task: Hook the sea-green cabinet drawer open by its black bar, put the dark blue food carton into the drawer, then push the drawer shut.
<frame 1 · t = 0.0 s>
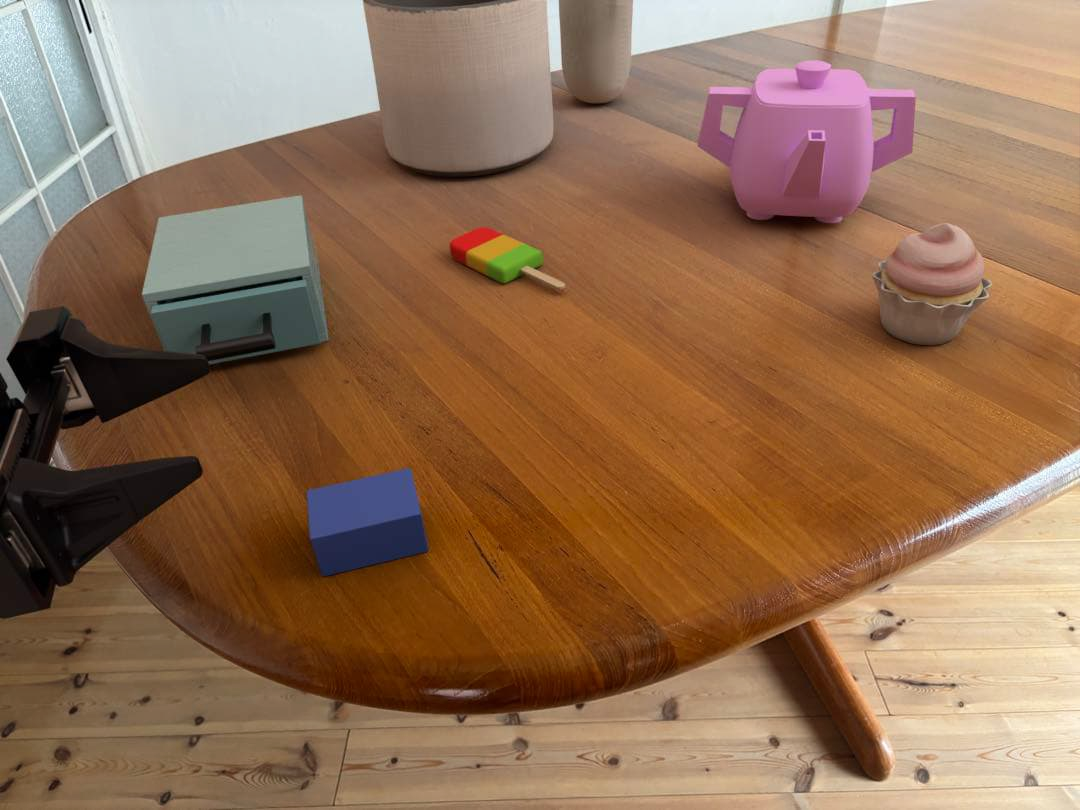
hand: (204, 410, 44), 14 cm above the table, tool horizontal, fingers open, 9 cm apart
popsicle: (512, 272, 84), on the table
planter: (471, 150, 111), on the table
drawer: (240, 301, 74), point 4 cm above the table, slide at 0.5 cm
cabinet: (252, 312, 80), on the table
teapot: (793, 203, 93), on the table
cupcake: (917, 329, 72), on the table
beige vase: (596, 102, 125), on the table
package: (372, 539, 55), on the table
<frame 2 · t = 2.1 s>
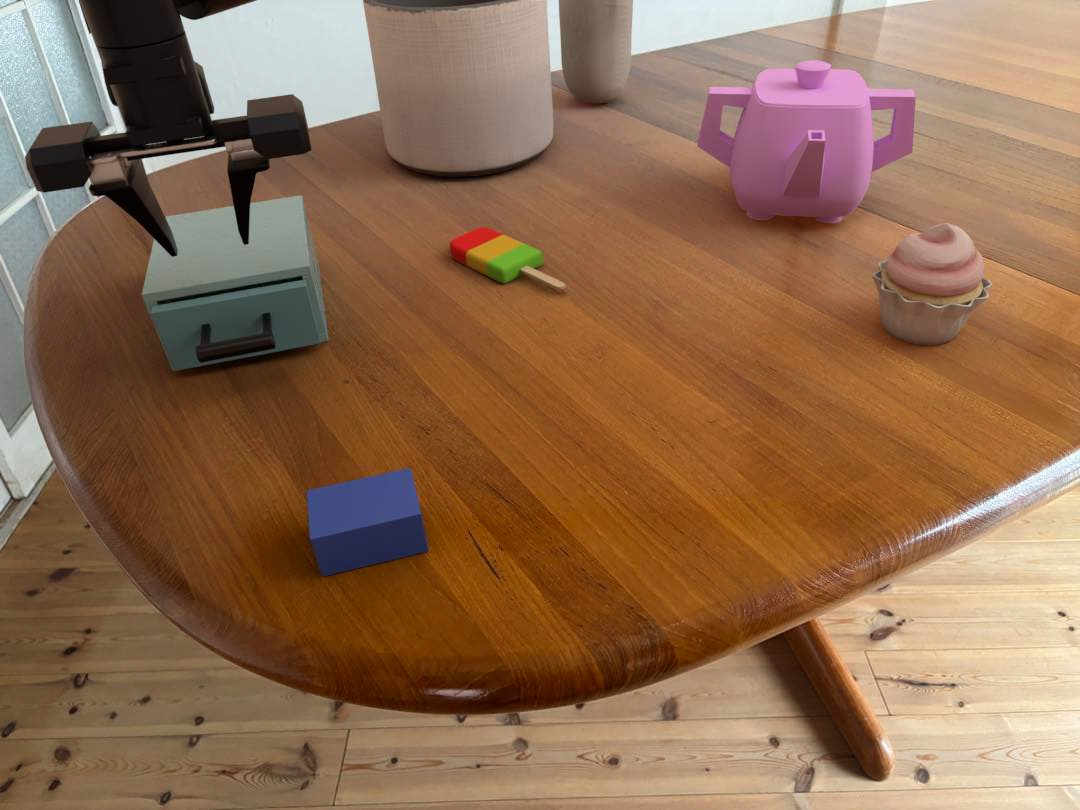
hand: (211, 248, 64), 12 cm above the table, tool pointing down, fingers open, 5 cm apart
nothing on the table moved.
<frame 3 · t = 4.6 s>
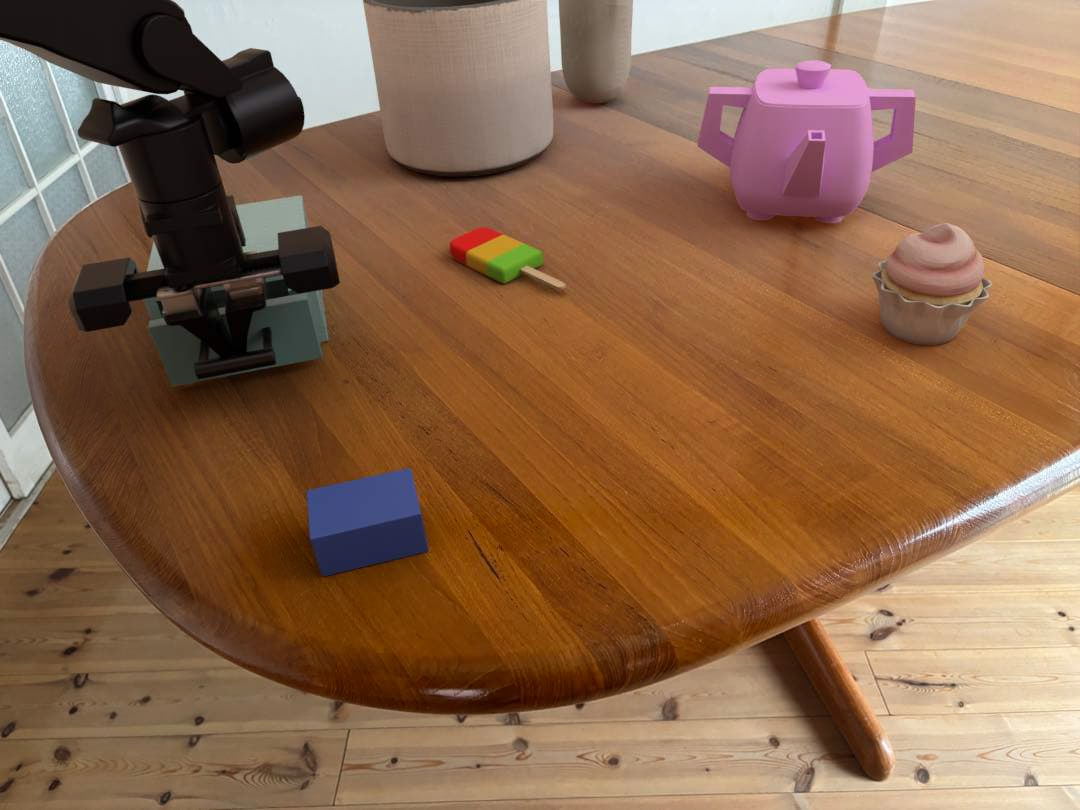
hand: (240, 367, 67), 3 cm above the table, tool pointing down, fingers closed, pressing on drawer
drawer: (239, 314, 72), point 4 cm above the table, slide at 2.9 cm, touching gripper
everything else where it was.
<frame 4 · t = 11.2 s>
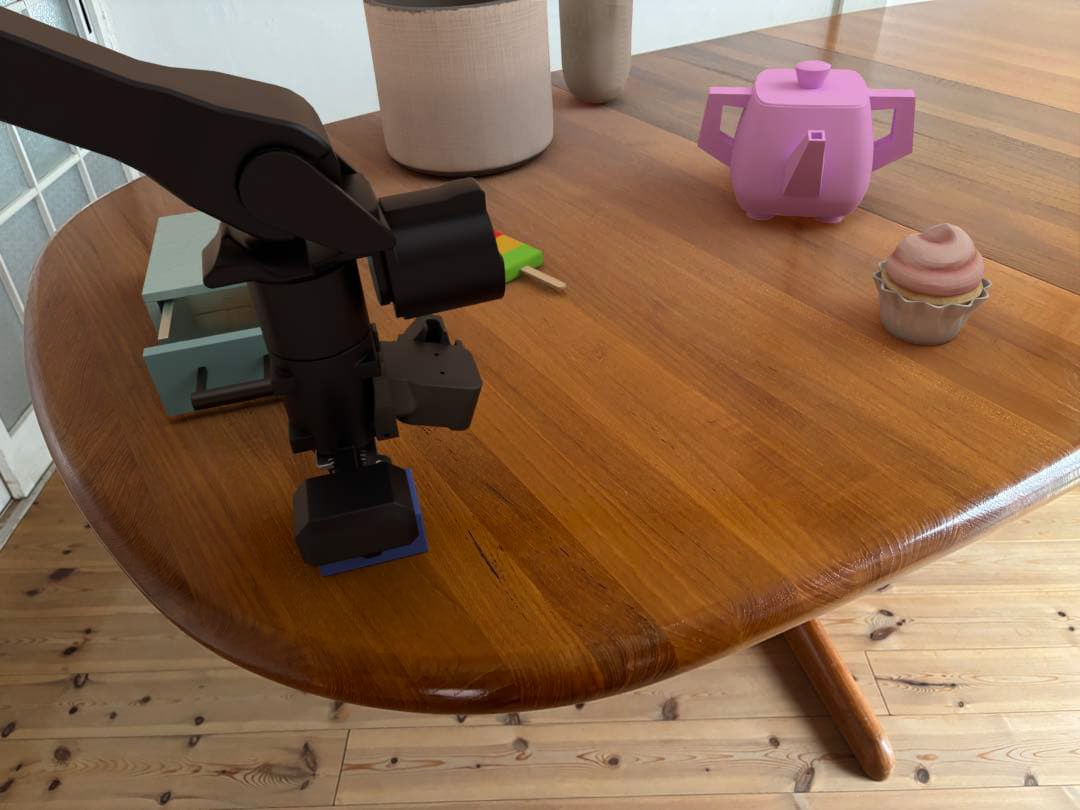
hand: (369, 529, 55), 1 cm above the table, tool pointing down, fingers closed on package, 4 cm apart
drawer: (239, 339, 69), point 4 cm above the table, slide at 7.1 cm
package: (372, 539, 55), on the table, touching gripper
everything else where it was.
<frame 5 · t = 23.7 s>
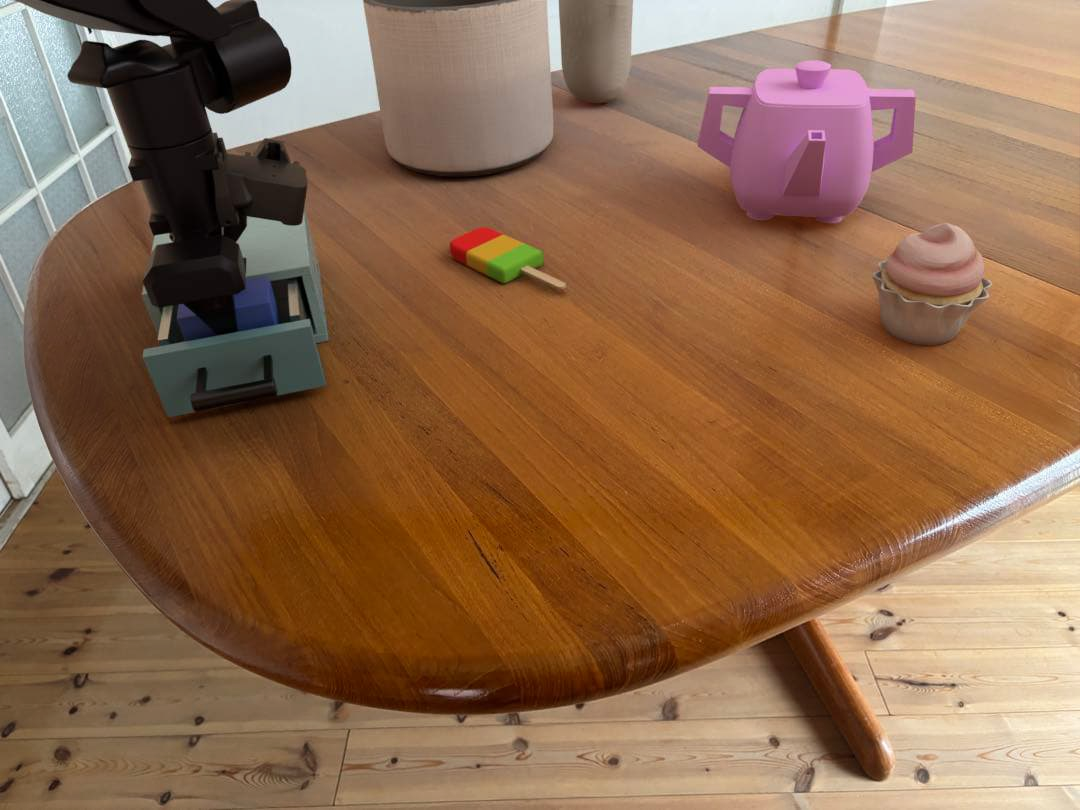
hand: (232, 323, 67), 6 cm above the table, tool pointing down, fingers closed on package, 5 cm apart
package: (236, 333, 68), point 5 cm above the table, touching gripper
everything else where it was.
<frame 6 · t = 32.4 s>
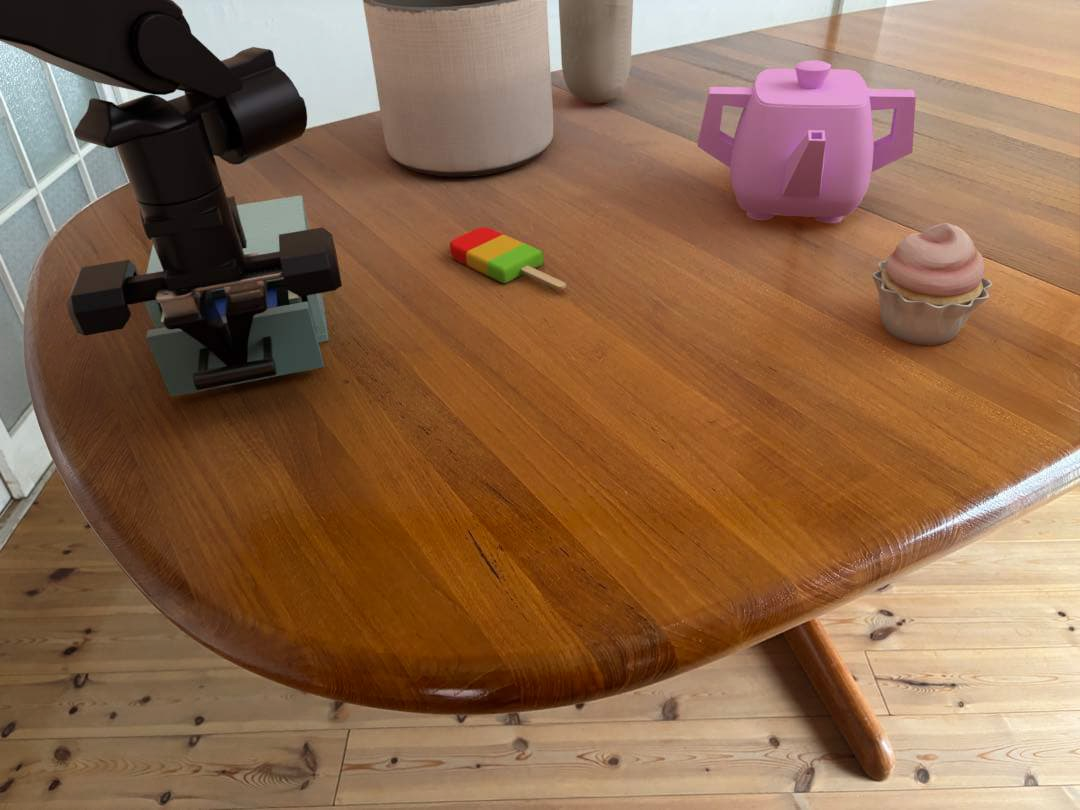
hand: (242, 371, 66), 3 cm above the table, tool pointing down, fingers closed
drawer: (239, 323, 71), point 4 cm above the table, slide at 4.4 cm, touching gripper, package
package: (246, 342, 72), point 2 cm above the table, touching drawer
everything else where it was.
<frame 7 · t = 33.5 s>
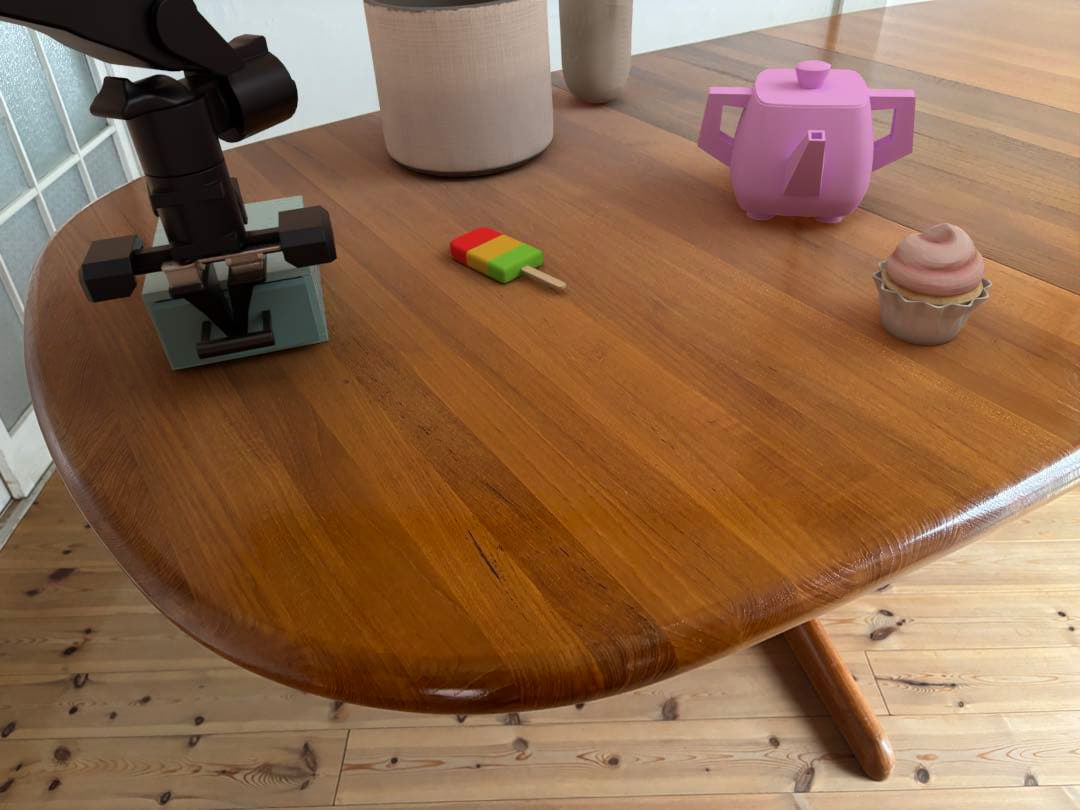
hand: (242, 343, 70), 3 cm above the table, tool pointing down, fingers closed, pressing on drawer
drawer: (240, 298, 74), point 4 cm above the table, slide at 0.0 cm, touching cabinet, gripper, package
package: (246, 317, 75), point 2 cm above the table, touching drawer
everything else where it was.
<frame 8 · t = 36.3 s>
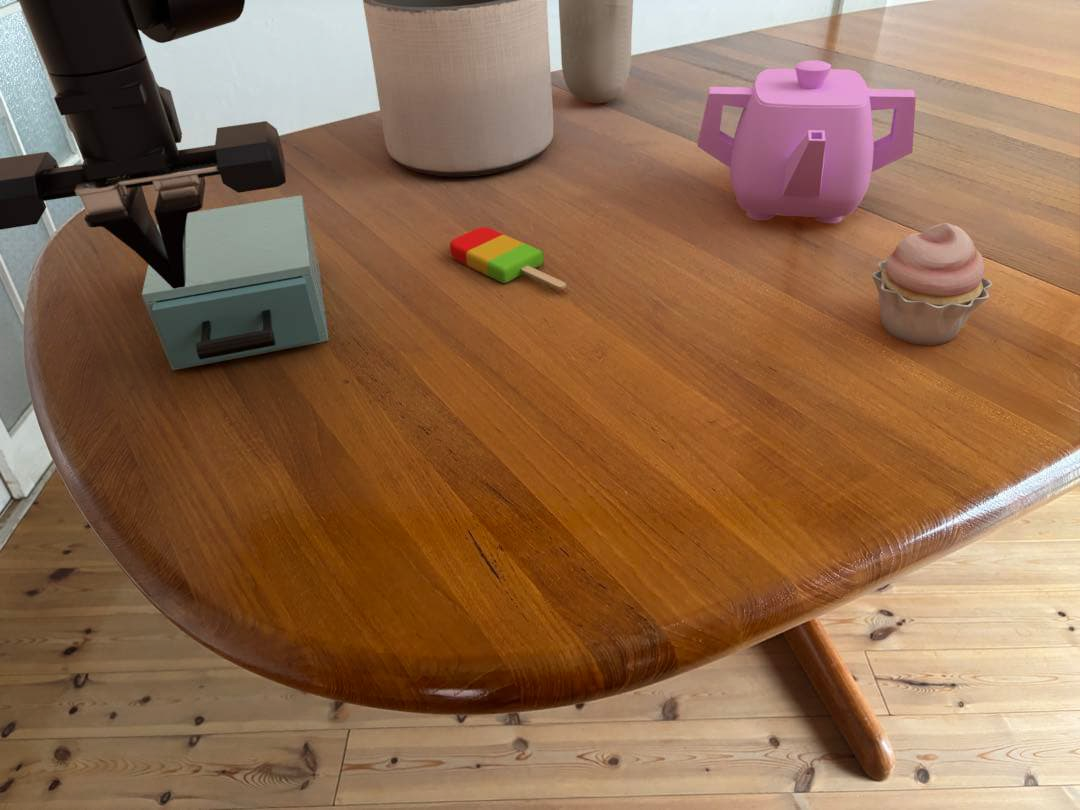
hand: (179, 285, 60), 12 cm above the table, tool pointing down, fingers closed
drawer: (240, 298, 74), point 4 cm above the table, slide at 0.0 cm, touching cabinet, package
everything else where it was.
at the end: drawer pulled out 7.4 cm at the most during the clip, back to where it started at the end; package inside the target area in the cabinet (3.5 cm from its centre), point 2.1 cm above the cabinet's base; drawer slide at 0.0 cm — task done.
